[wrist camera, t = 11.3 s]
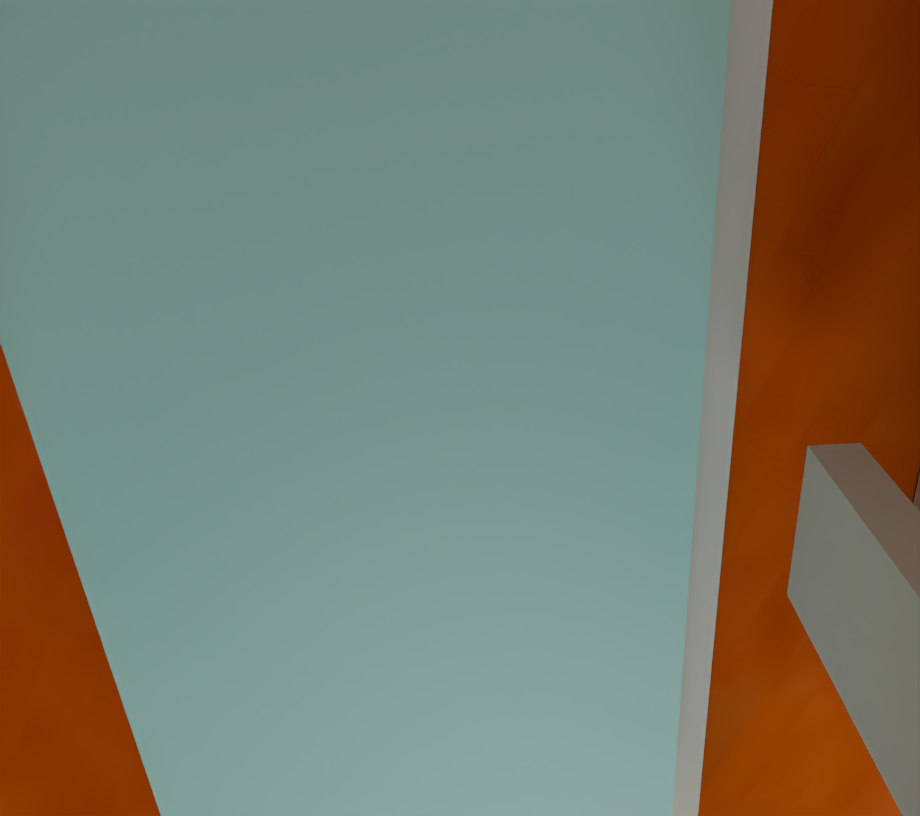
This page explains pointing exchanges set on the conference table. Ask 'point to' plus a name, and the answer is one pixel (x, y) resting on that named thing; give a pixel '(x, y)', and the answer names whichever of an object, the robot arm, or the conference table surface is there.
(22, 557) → the conference table surface
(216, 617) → the lid
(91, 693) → the conference table surface
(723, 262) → the mat
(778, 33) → the conference table surface
